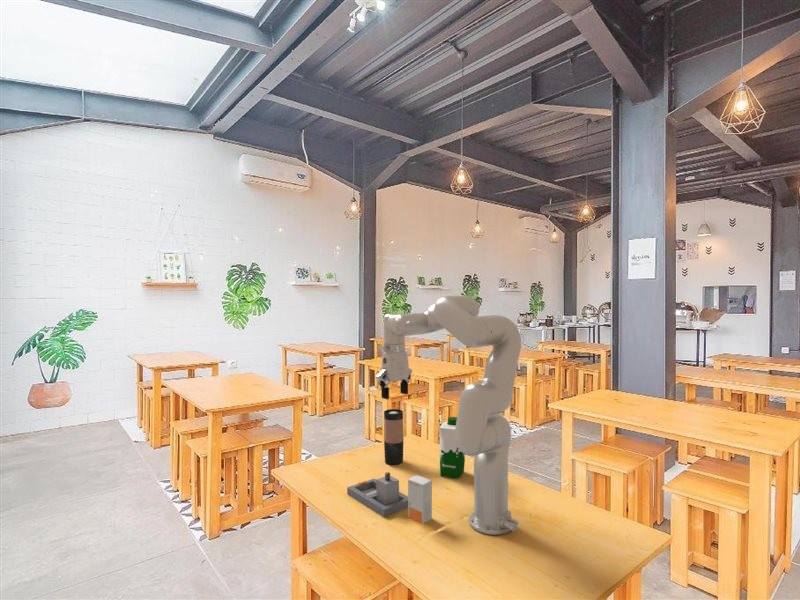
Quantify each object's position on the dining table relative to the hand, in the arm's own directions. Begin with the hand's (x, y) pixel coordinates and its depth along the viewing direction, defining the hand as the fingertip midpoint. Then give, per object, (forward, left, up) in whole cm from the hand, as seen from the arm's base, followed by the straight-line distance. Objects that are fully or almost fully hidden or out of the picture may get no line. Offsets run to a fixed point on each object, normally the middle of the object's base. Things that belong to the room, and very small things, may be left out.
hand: (395, 395), depth 161 cm
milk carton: (-10, -18, -30) cm, 37 cm away
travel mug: (+13, -9, -30) cm, 34 cm away
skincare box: (-27, +13, -30) cm, 43 cm away
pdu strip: (-10, +15, -30) cm, 35 cm away
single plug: (-15, +15, -29) cm, 36 cm away
